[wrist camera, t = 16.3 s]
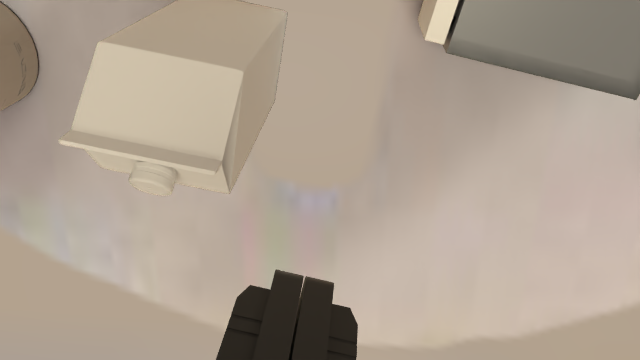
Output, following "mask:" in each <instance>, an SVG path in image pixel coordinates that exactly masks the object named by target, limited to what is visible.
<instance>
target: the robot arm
mask: <svg viewBox="0 0 640 360" xmlns="http://www.w3.org/2000/svg"><path fill="white" fill-rule="evenodd" d="M37 75H38V59H37V52H36V49H35V46H34V44H33V41H32V38H31V37H30V35H29V33H28V31H27V29H26V28H25V26H24V25H23V24H22V22H21V21H20V20H19V19H18V17H17V16H16V15H15V14H14V13H13V12H12V11H10V10H9V9H8V8H7V7H6V6H5V5H3V4H2V3H0V111H2V110H3V109H5V108H7V107H9V106H10V105H12V104H14V103H15V102H17V101H19V100H21V99H22V98H23V97H25V96H26V95H27V94H28V93H29V92H30V90H31V89H32V87H33V86H34V84H35V81H36V78H37ZM302 283H303V276H302V275H297V274H293V273H289V272H284V271H280V270H276V271H275V274H274V278H273V282H272V286H271V290H269V289H265V288H261V287H256V286H252V285H250V286H249V287H248V288H247V289H246V290H244V291H243V292H242V293H241V294H240V295H239V296H238V297H237V299H236V302H235V305H234V308H233V311H232V314H231V317H230V320H229V323H228V326H227V329H226V332H225V335H224V338H223V341H222V343H221V347H220V349H219V352H218V355H217V358H216V360H356V357H357V356H356V355H357V346H356V345H357V330H358V325H357V322H356V320H355V318H354V316H353V314H352V311H351V309H350V308H348V307H344V306H339V305H335V304H332V299H333V289H334V283H332V282H328V281H324V280H320V279H315V278H311V277H307V276H306V277H305V281H304V284H303V288H302ZM301 288H302V292H301ZM300 293H301V296H300Z"/></svg>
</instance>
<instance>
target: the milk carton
mask: <svg viewBox="0 0 640 360" xmlns="http://www.w3.org/2000/svg"><path fill="white" fill-rule="evenodd" d="M287 14H288V13H287V11H285V10H281V9H276V8H271V7H266V6H262V5H257V4H252V3H247V2H242V1H238V0H177V1H175V2H173V3H171V4H170V5H168V6H166V7H164V8H162V9H160V10H158V11H156V12H154V13H153V14H151V15H149V16H147V17H145V18H143V19H141V20H139V21H138V22H136V23H134V24H132V25H130V26H128V27H126V28H124V29H123V30H121V31H119V32H117V33H115V34H113V35H111V36H109V37H108V38H106V39H104V40H102V41H100V42H98V43H97V47H96V50H95V53H94V56H93V59H92V63H91V66H90V69H89V72H88V75H87V79H86V82H85V85H84V88H83V92H82V95H81V98H80V101H79V104H78V108H77V111H76V114H75V117H74V120H73V124H72V127H71V130H70V131H69V132H68V133H66V134H65V135H64V136H63V137H61V138H60V139H59V143H60V144H62V145H67V146H72V147H77V148H81V149H85V150H86V152H87V153H88V154H89V155H90V156H91V157H92V158H93V159H94V161H95V162H96V163H97V164H98V165H99V166H100V167H101V168H104V169H108V170H113V171H118V172H123V173H127V174H130V177H129V183H130V184H131V185H132V186H133V187H135V188H136V189H138V190H140V191H143V192H146V193H149V194H153V195H159V196H168V195H170V194H172V191H173V188H174V183H176V184H181V185H186V186H191V187H196V188H201V189H205V190H210V191H215V192H220V193H226V194H230V192H231V190H232V188H233V186H234V184H235V182H236V180H237V178H238V176H239V174H240V172H241V170H242V168H243V165H244V163H245V161H246V159H247V157H248V155H249V153H250V151H251V149H252V147H253V145H254V143H255V141H256V139H257V137H258V135H259V132H260V130H261V128H262V126H263V124H264V122H265V120H266V118H267V116H268V114H269V112H270V110H271V108H272V105H273V104H274V101H275V95H276V89H277V81H278V75H279V68H280V62H281V55H282V48H283V42H284V34H285V28H286V21H287Z"/></svg>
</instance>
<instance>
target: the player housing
mask: <svg viewBox="0 0 640 360" xmlns="http://www.w3.org/2000/svg"><path fill="white" fill-rule="evenodd" d="M443 46H444V49H445V51H446V53H448V54H452V55H456V56H460V57H464V58H468V59H473V60H477V61H481V62H485V63H489V64H493V65H497V66H501V67H505V68H509V69H513V70H517V71H521V72H525V73H529V74H533V75H537V76H541V77H545V78H549V79H553V80H558V81H562V82H566V83H570V84H574V85H578V86H582V87H586V88H590V89H594V90H598V91H602V92H606V93H610V94H614V95H618V96H622V97H626V98H630V99H634V100H637V98H638V96H639V94H640V0H462V1H461V4H460V7H459V10H458V13H457V16H453V19H452V22H451V25H450V28H449V31H448V34H447V37H446V40H445V43H444V45H443Z"/></svg>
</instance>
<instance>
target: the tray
mask: <svg viewBox="0 0 640 360" xmlns="http://www.w3.org/2000/svg"><path fill="white" fill-rule="evenodd" d="M461 1H462V0H424V1H423V4H422V7H421V10H420V14H419V17H418V22H419V25H420V28H421V31H422V34H423V37H424V40H427V41H431V42H435V43H439V44H443V45H444V43H445V40H446V37H447V34H448V31H449V28H450V25H451V22H452V19H453V16H457V13H458V10H459V7H460V4H461Z"/></svg>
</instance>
